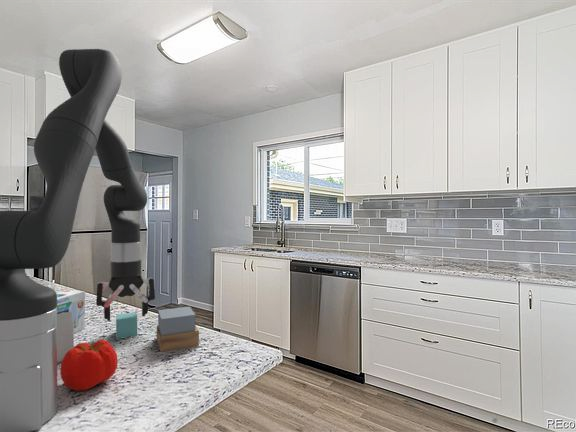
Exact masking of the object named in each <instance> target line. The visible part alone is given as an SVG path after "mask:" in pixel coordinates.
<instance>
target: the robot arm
mask: <svg viewBox="0 0 576 432" xmlns="http://www.w3.org/2000/svg"><path fill="white" fill-rule="evenodd" d="M58 59H59V60H58V67H59V71H60V75H61V77H62V80H63V82H64V85H65V88H66V90H67V92H68V93H69V96H70V97H69V98H68V99H66V100H65V101H63V102H62V103H61V104H59V105H58V106H57V107H55V108H54V109H52V110H51V111H50V112H49V113H48V115H47V116H46V117H45V118H44V120H43V122H42V124H41V126H40V129H39V131H38V133H37V135H36V137H35V139H34V143H33V153H34V156H35V160H36V163H37V164H38V167H39V169H40V171H41V173H42V176H43V177H44V180H45V182H46V183H45V184H46V188H45V189H46V191H45V193H44V194H45V195H44V198H43V200H42V203H41V204H40V206H39V208H38V209H37V210H0V432H33V431H38V430H41V429H42V426H43V425H45V424H46V422H48V421H49V420H51V419H52V418H53V417H54V416H55V415H56V413H58V362H57V294H56V293H57V292H56V290H55V289H54V288H51V287H48V286H46V285H44V284H41V283H38V282H36V281H34V280H33V279H32V278H31V277H30V276H28V275H27V273H26V270H35V269H37V270H41V269H42V270H43V269H50V268H53V267H55V266H57V265H58V264H59V263H61V261H62V260H63V258H64V256H65V255H66V253H67V252H68V248H69V244H70V242H71V236H72V232H73V229H74V223H75V219H76V213H77V208H78V204H79V200H80V195H81V192H82V189H83V185H84V182H85V179H86V175H87V172H88V170H89V167H90V165H91V161H92V159H93V157H94V154H95V152H96V155H97V158H98V161H99V164H100V169H101V171H102V175H103V176H104V178H105V179H106V180H108V181H109V180H110V181H113V182H117V184H113V185H112V184H111V185H109V186H108V187H107V188H106V189H105V190H104V192H103V193H104V194H103V204H104V208H105V211H106V213H107V217H108V221H109V225H110V228H111V230H110V231H111V232H110V233H111V246H110V257H109V258H110V280H109V281H108V282H107V281H106V282H104V281H101V280H100V281H98V282H97V288H96V301H95V305H96V306H97V307H103V316H104V320H107V322H110V321H111V304H112V303H113V302H114V301H115V300H116V299H117V297H120V298H125V297H133V296H134V295H136V296H137V297H138V298H139V299H140V300H141V317H145V316H146V315H147V314H148V313H149V307H148V306H149V302H150V301H153V300H155V299H156V294H155V291H156V290H155V280H154V279H153V277H151V276H150V277H148V278H143V276H142V247H141V224H140V222H139V221H138V220H134V219H130V218H128V217H127V216H126V215H125V212H139V211H140V212H141V211H143V209H144V208H145V207H146V206H147V204H148V195H147V192H146V189H145V186H144V185H143V184H142V182H141V180H140V178H139V177H138V175H137V173H136V171H135V170H134V168H133V165H132V161H131V158H130V153H129V150H128V146H127V144H126V142H125V140H124V139H123V137H122V136H121V134H120V133H118V131H117V130H116V129H115V128H114V127H113V126H112V125H111V123H109V122H108V121H107V119H106V117H107V115H108V112H109V110H110V108H111V106H112V104H113V103H114V100H115V99H116V96H117V95H118V93H119V91H120V86H121V83H122V76H123V75H122V67H121V63H120V61H119V59H118V58H117V56H116V55H115V54H114V53H113V52H112V51H110V50H107V49H102V48H83V49H82V48H81V49H80V48H79V49H76V48H75V49H66V50H63V51H62V52H60V55H59V58H58ZM118 183H119V184H118ZM144 284H145V285H146V287H148V295H146V294H145V293H144V292H143V291H142V290H141V287H142V286H143V285H144ZM107 288H110V289H111V291H112V292H111V293H110V294H109V296H108V297H107V298H106V299H105V300H104V299H103V292H104V291H106V290H107Z"/></svg>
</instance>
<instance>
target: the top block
mask: <svg viewBox="0 0 576 432" xmlns="http://www.w3.org/2000/svg"><path fill="white" fill-rule="evenodd" d="M157 311H158V312H157V314H158V315H157V319H158V320H157V321H158V322H157V325H158V326H159V330H160V333H161V336H163V335H170V334H177V333H183V332H190V331H195V326H196V313H195V312H194V310H193V309H192V307H191V306H183V307H176V308H175V307H174V308H167V309H159V310H157Z"/></svg>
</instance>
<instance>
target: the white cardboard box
mask: <svg viewBox="0 0 576 432" xmlns="http://www.w3.org/2000/svg"><path fill="white" fill-rule="evenodd" d="M74 334H75V333H74V331H73V323H72V314H71V312H66V313H61V314H57V363H58V362H62V361H63V358H64V356H65V354H66V353H67V352H68V351H69V350H70V349H73V348H74V347H75V346H74V337H75V335H74Z"/></svg>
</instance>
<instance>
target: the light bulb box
mask: <svg viewBox="0 0 576 432" xmlns="http://www.w3.org/2000/svg"><path fill="white" fill-rule="evenodd" d="M56 294H57V314H61V313H66V312H71V314H72V323H73V331H74V334H75V333H77V332H79V331H80V332H81V331H82V330H85V329H86V328H85V327H86V326H85V325H86V318H85V317H86V311H85V310H86V295H85V294H86V292H85V291H84V290H83V291H82V290H71V289H70V290H69V289H65V290H61V291H58V292H56Z"/></svg>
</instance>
